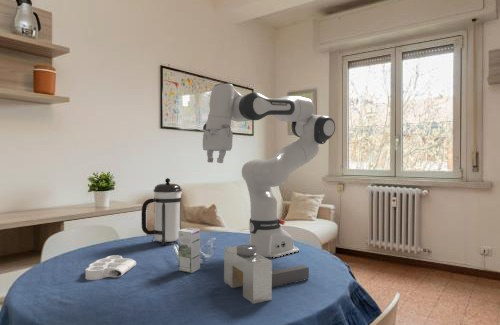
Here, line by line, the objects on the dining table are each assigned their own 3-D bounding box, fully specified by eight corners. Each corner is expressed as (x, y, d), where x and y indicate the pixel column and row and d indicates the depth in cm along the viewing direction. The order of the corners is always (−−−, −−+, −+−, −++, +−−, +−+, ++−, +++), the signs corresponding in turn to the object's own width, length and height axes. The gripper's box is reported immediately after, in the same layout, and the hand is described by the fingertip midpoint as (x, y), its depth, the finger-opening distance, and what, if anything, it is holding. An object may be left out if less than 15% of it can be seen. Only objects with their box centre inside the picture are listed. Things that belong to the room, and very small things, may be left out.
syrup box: (200, 268, 125) (200, 228, 124) (191, 273, 119) (191, 231, 119) (187, 266, 127) (187, 226, 127) (177, 271, 122) (177, 230, 121)
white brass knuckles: (117, 282, 112) (74, 280, 113) (139, 265, 130) (102, 263, 131) (117, 271, 112) (74, 270, 113) (139, 256, 130) (102, 254, 131)
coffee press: (156, 237, 171) (156, 177, 170) (188, 239, 169) (188, 177, 168) (140, 246, 154) (140, 179, 153) (175, 248, 152) (175, 179, 151)
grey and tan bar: (301, 275, 118) (301, 261, 118) (310, 280, 113) (310, 265, 113) (246, 286, 108) (246, 270, 108) (254, 292, 103) (254, 275, 103)
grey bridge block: (240, 278, 114) (240, 239, 114) (271, 299, 98) (272, 253, 98) (224, 281, 112) (224, 241, 111) (253, 304, 95) (253, 256, 95)
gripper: (238, 125, 122) (234, 164, 122) (216, 129, 140) (212, 162, 140) (222, 122, 119) (218, 162, 119) (201, 126, 137) (197, 161, 137)
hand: (214, 162), depth 130 cm, fingers open, 8 cm apart
